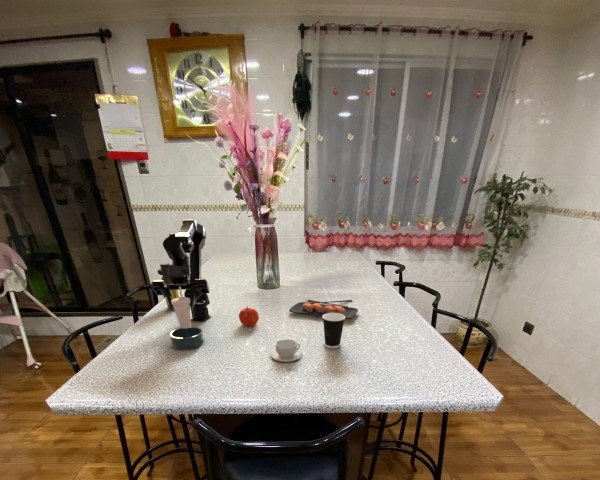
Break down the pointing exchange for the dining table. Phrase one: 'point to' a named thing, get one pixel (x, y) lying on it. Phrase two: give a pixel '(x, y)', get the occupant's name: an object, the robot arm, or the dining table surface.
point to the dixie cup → (333, 329)
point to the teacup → (286, 350)
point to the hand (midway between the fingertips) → (181, 309)
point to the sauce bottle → (168, 281)
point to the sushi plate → (323, 309)
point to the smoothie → (182, 310)
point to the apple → (248, 317)
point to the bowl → (186, 338)
